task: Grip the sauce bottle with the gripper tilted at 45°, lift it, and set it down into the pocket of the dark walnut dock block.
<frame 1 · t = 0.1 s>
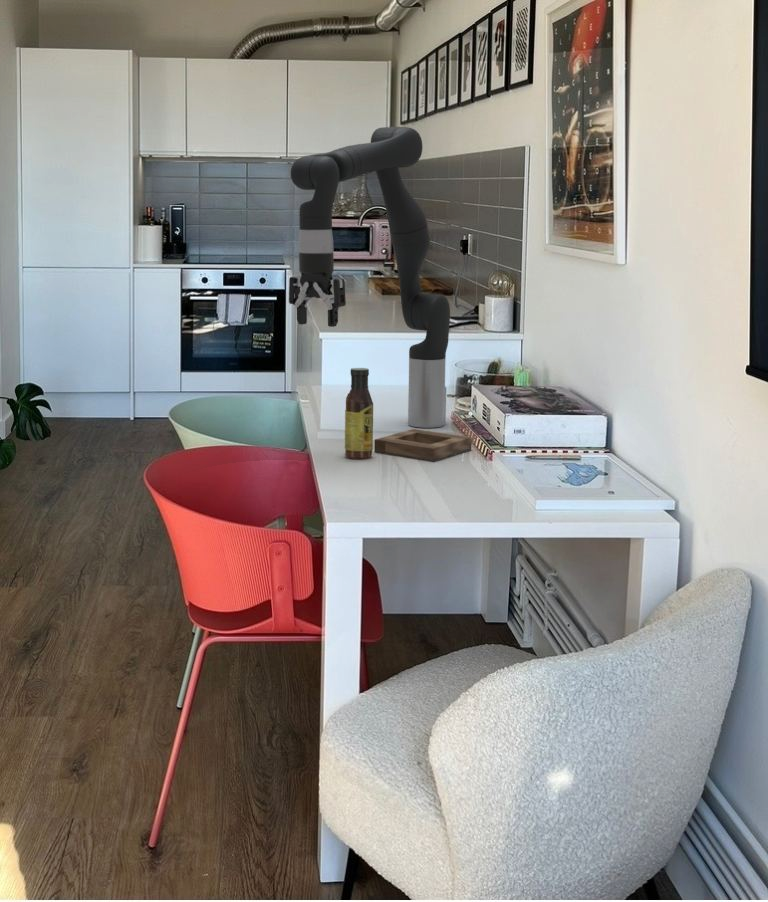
hand: (317, 325, 266), 29 cm above the table, tool pointing down, fingers open, 8 cm apart
walnut dock: (423, 451, 277), on the table
sauce bottle: (358, 457, 270), on the table
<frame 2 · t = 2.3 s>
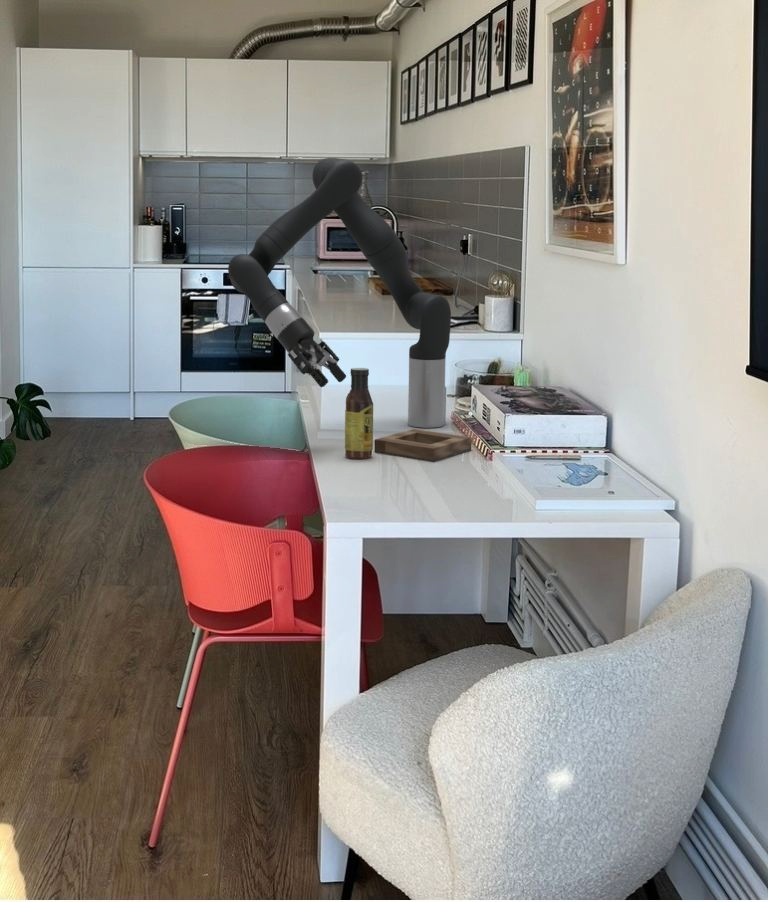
hand: (334, 382, 269), 16 cm above the table, tool tilted 45°, fingers open, 8 cm apart
nothing on the table moved.
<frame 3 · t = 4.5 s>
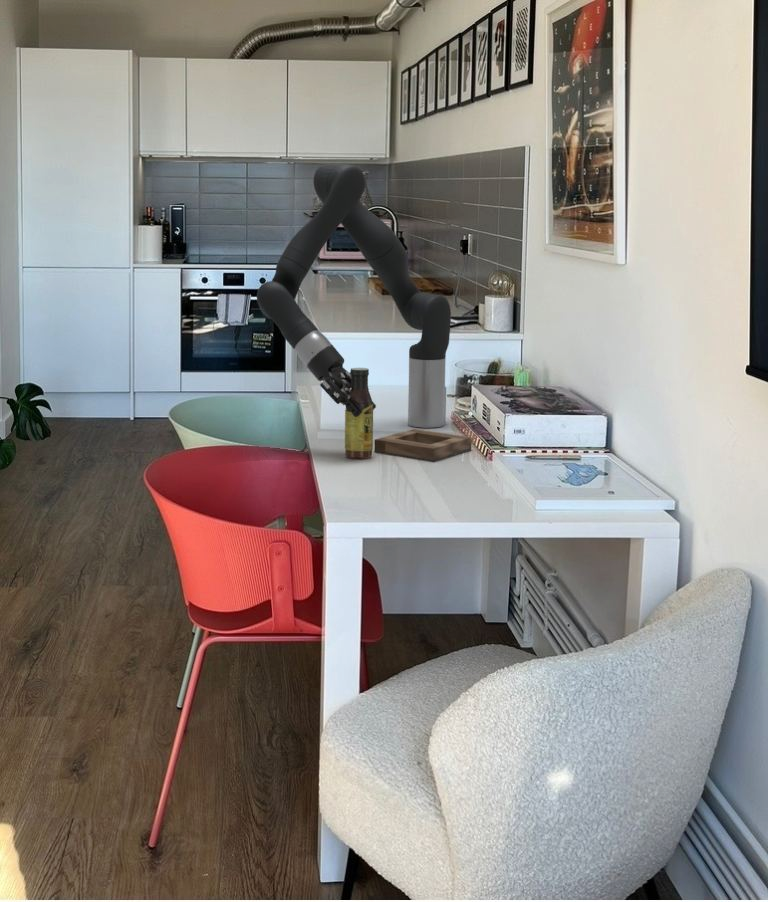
hand: (366, 411, 267), 10 cm above the table, tool tilted 45°, fingers closed on sauce bottle, 6 cm apart
sauce bottle: (358, 457, 270), on the table, touching gripper
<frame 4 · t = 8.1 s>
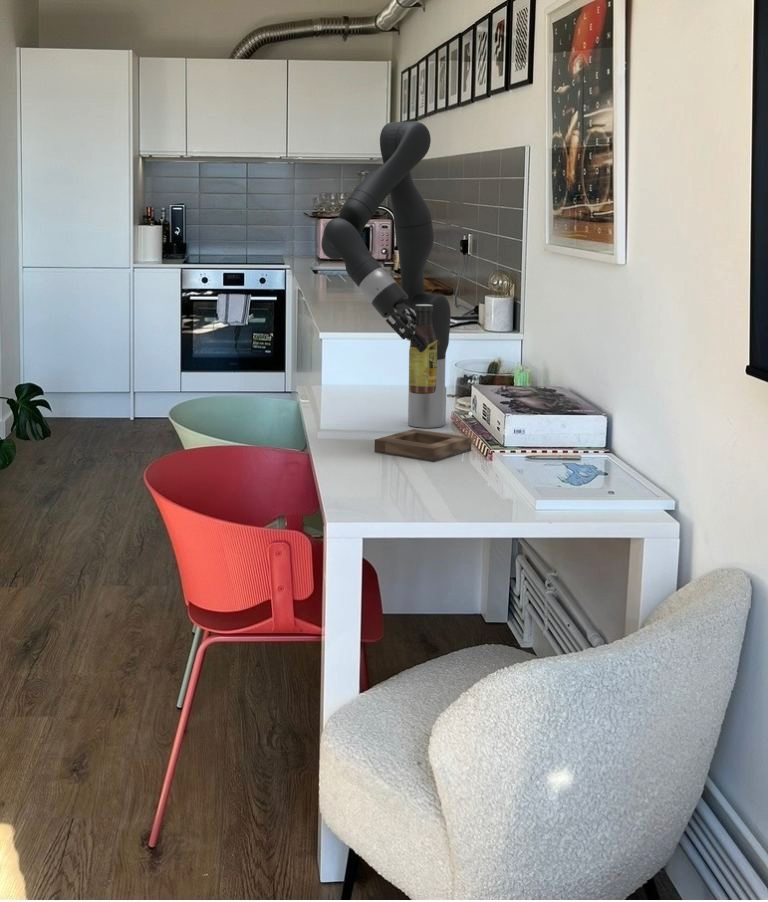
hand: (430, 347, 271), 24 cm above the table, tool tilted 45°, fingers closed on sauce bottle, 6 cm apart
sauce bottle: (422, 393, 274), point 13 cm above the table, touching gripper
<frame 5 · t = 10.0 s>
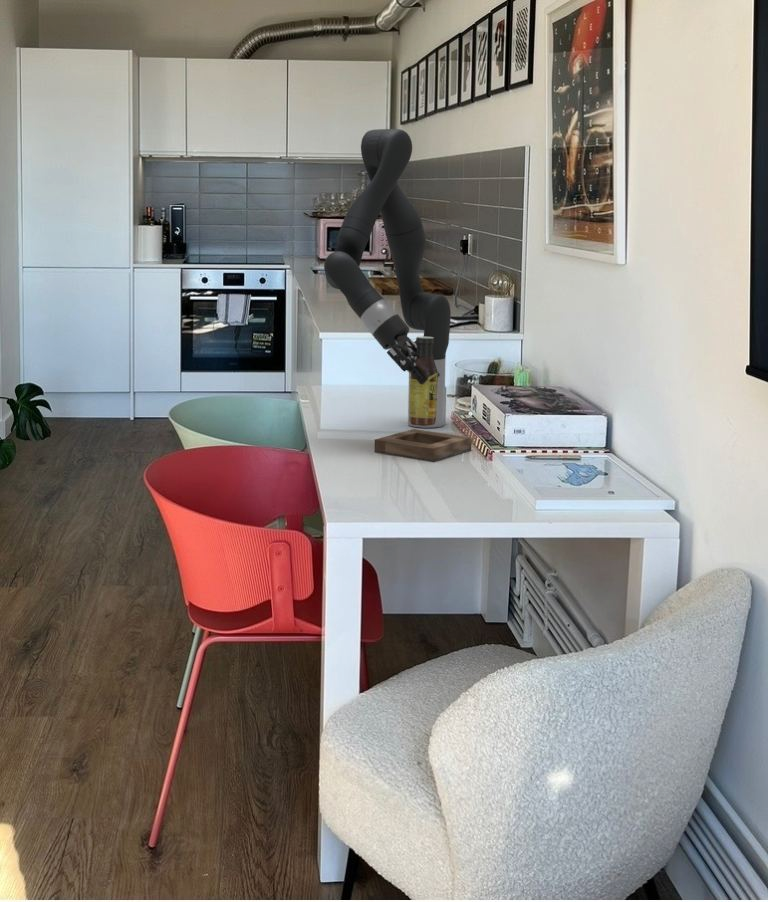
hand: (430, 379, 273), 17 cm above the table, tool tilted 45°, fingers closed on sauce bottle, 6 cm apart
sauce bottle: (422, 424, 275), point 6 cm above the table, touching gripper
when the fingers open (12 cm above the table, at t = 11.8 s): sauce bottle stays where it is, resting on walnut dock.
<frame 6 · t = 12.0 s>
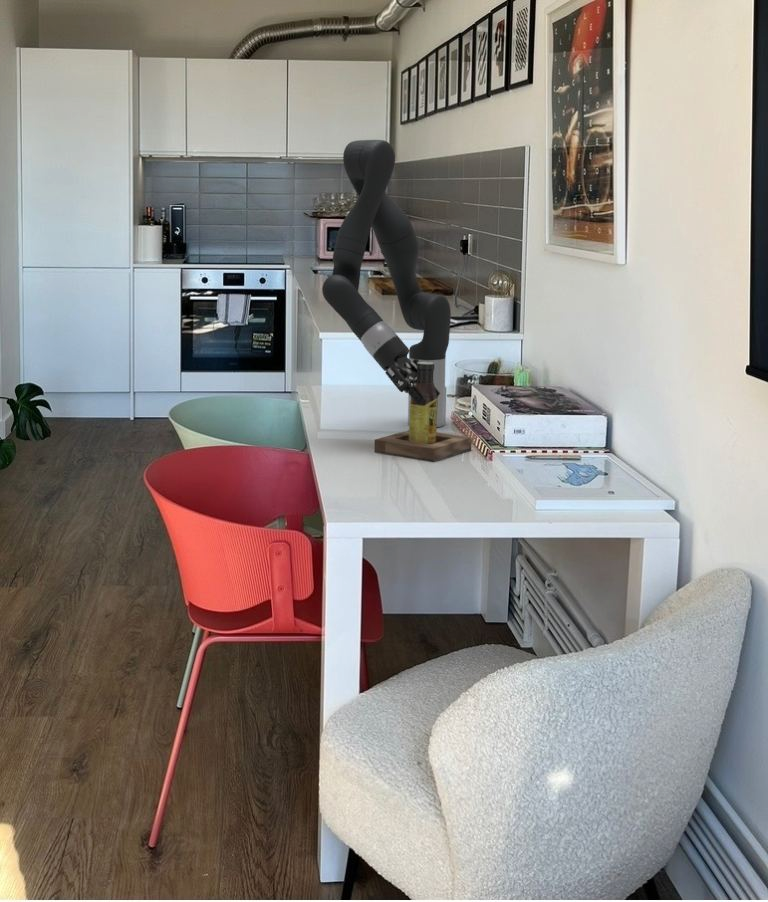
hand: (429, 399, 274), 12 cm above the table, tool tilted 45°, fingers open, 8 cm apart
sauce bottle: (422, 449, 277), resting on walnut dock
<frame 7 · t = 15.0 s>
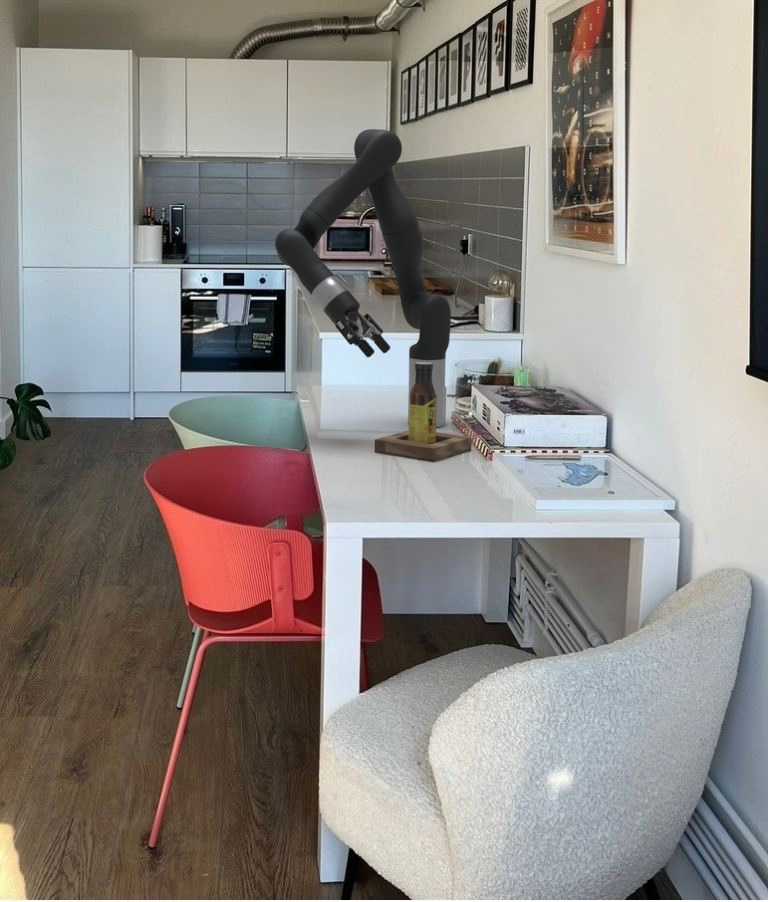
hand: (379, 352, 277), 22 cm above the table, tool tilted 45°, fingers open, 8 cm apart
nothing on the table moved.
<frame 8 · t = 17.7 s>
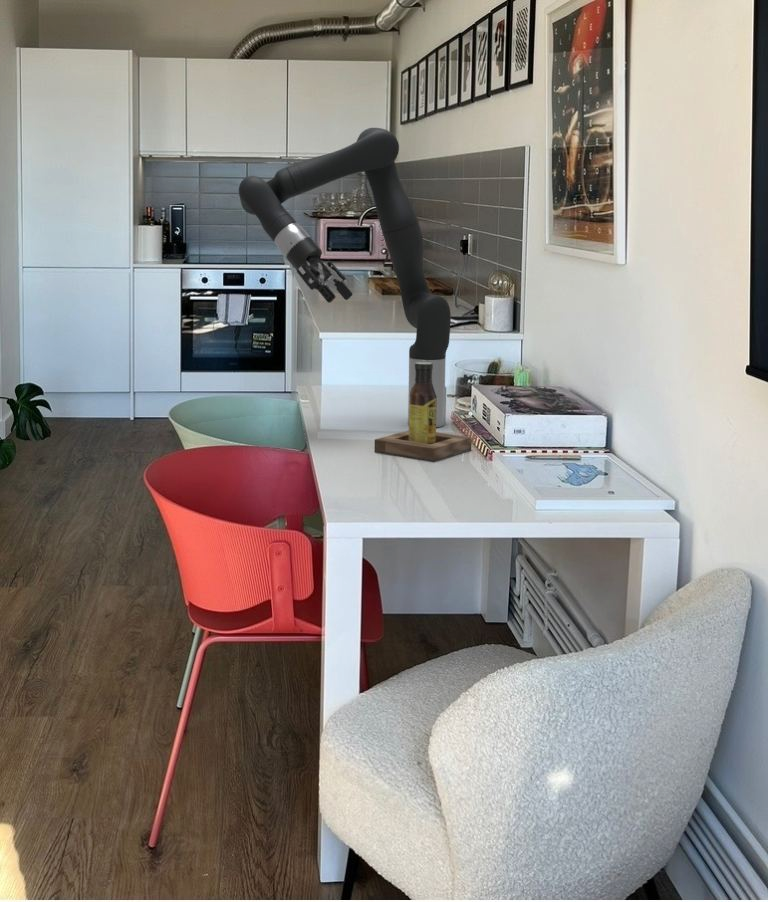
hand: (341, 298, 280), 34 cm above the table, tool tilted 45°, fingers open, 8 cm apart
nothing on the table moved.
at the end: sauce bottle 0.3 cm off-centre on the walnut dock, point 0.3 cm above the walnut dock's base; sauce bottle tilted 0°; the gripper is holding nothing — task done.
